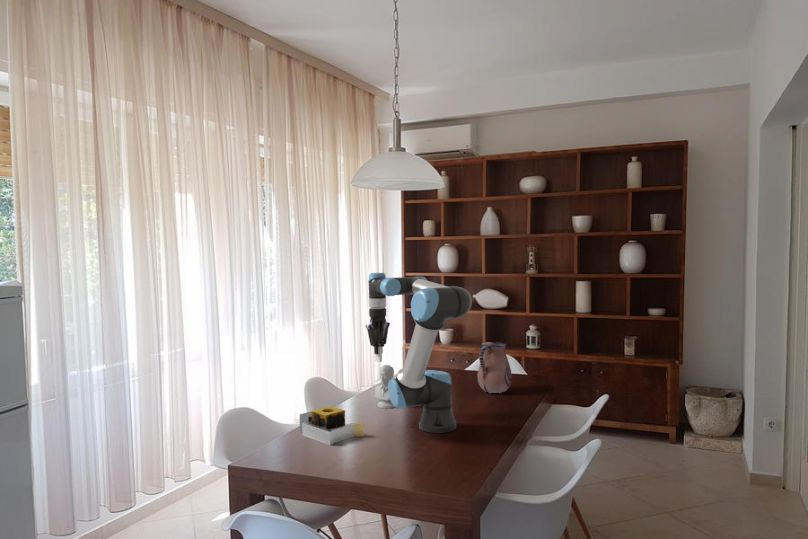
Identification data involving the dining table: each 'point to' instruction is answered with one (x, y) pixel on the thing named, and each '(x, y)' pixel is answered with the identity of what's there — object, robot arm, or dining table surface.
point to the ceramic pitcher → (494, 368)
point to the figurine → (384, 387)
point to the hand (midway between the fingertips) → (378, 361)
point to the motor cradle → (331, 434)
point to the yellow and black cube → (328, 417)
